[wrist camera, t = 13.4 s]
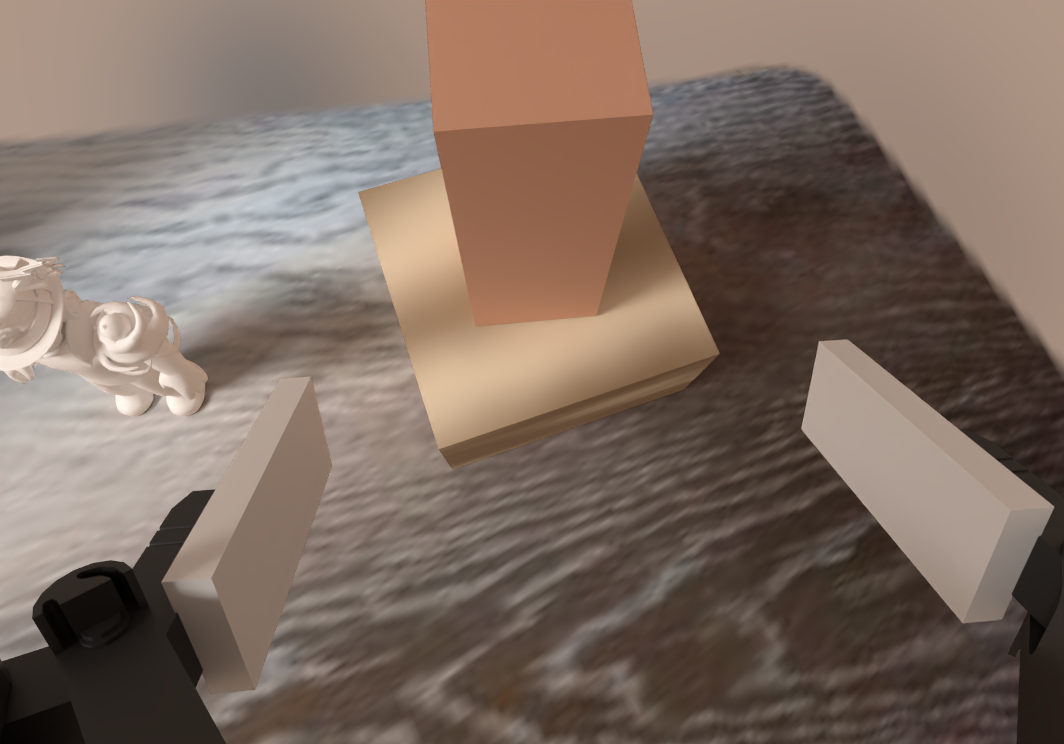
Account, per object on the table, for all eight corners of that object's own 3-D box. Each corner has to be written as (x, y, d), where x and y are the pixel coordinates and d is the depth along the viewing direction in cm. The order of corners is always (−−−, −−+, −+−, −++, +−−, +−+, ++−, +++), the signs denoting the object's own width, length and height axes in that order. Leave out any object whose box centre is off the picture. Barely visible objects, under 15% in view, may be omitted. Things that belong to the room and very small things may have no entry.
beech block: (385, 256, 33) (358, 191, 27) (595, 193, 34) (612, 120, 29) (453, 470, 30) (438, 449, 24) (681, 391, 31) (719, 353, 25)
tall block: (475, 326, 25) (433, 131, 14) (467, 219, 27) (422, -37, 15) (596, 315, 26) (653, 114, 14) (581, 209, 27) (622, -51, 16)
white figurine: (262, 356, 31) (112, 235, 19) (247, 434, 29) (78, 355, 18) (79, 345, 31) (-183, 216, 19) (57, 422, 29) (-236, 335, 18)
